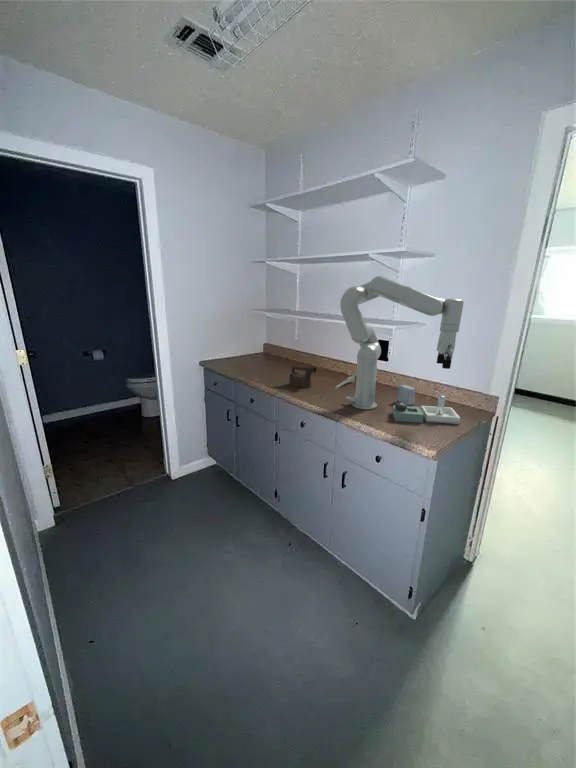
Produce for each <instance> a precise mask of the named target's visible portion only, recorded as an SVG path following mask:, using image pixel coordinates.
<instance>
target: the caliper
mask: <svg viewBox="0 0 576 768" xmlns="http://www.w3.org/2000/svg"><path fill="white" fill-rule="evenodd" d="M355 378H356V377H355V374H354V373H353V372H352V373H351V375H350V376H348V377H347V378H346V379H345V380H343V381H342V382H341V383H339V384H337V385H336V386H335V387H334V388H333V389H335V390H338V389H340V388H341V387H342V386H344V385H346V384H347V383H351V384H353V383H355V381H356V380H355Z"/></svg>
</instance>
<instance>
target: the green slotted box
mask: <svg viewBox="0 0 576 768" xmlns="http://www.w3.org/2000/svg"><path fill="white" fill-rule="evenodd" d="M391 411H392V412H391V413H392V415H393V419H394V421H395V422H404V423H418V424H423V422H424V417H423V416H424V414H423V413H422V411H421V407H419V406H412V405H407V404H405V403H401V402H395V404H394V405H392V410H391Z"/></svg>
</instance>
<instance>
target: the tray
mask: <svg viewBox="0 0 576 768" xmlns="http://www.w3.org/2000/svg"><path fill="white" fill-rule="evenodd" d="M420 409H421V411H422V413H423V414H424V416H423V420H425V422H426V423H433V424H436V423H437V424H447V425H448V424H449V425H460V422H461V417H460V415H459V414H458V413H457V412H456V411H455V409H453V408H452V407H450V406H449V407H448V406H447V407H446V406H444V411H443V416H439V415H436V410H437V406H434V405H433V406H432V405H421V406H420Z"/></svg>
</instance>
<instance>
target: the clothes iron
mask: <svg viewBox="0 0 576 768" xmlns="http://www.w3.org/2000/svg"><path fill="white" fill-rule="evenodd" d="M291 368H292V370H291V374H289V386H291V387H294V386H295V388H301V387H302V388H303V389H307V388H311V385H312V384H311V377H312V373H314V374H315V373H316V372H317V366H309V367H308V366H302V365H295V364H293V365H292V366H291ZM295 370H298V371H305V374H303V373H298V372H297V371H295ZM302 388H301V389H302Z"/></svg>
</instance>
